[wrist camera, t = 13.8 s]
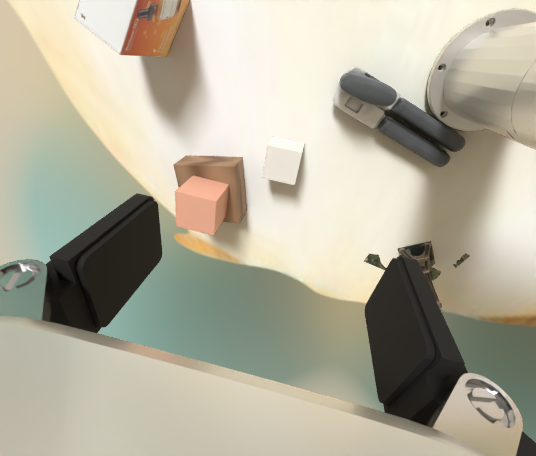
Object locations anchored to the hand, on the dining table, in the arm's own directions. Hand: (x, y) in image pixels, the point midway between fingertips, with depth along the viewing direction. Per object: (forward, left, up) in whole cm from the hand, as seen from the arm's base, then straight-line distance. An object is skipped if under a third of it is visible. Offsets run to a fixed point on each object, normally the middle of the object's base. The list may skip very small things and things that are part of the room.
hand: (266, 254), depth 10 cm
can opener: (-12, -2, -34) cm, 36 cm away
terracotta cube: (+13, +15, -29) cm, 35 cm away
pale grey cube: (+2, +7, -33) cm, 34 cm away
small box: (+22, -8, -34) cm, 41 cm away
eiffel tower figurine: (-25, +21, -34) cm, 47 cm away
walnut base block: (+13, +15, -34) cm, 39 cm away
